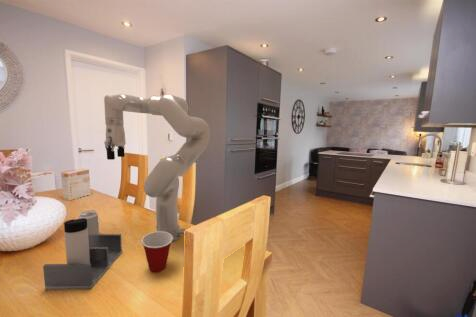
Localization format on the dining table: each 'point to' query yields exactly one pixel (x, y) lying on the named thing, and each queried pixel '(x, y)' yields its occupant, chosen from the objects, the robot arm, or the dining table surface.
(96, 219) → the can
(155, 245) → the plastic cup
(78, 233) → the travel mug
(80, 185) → the coffeecake box
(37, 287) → the dining table surface
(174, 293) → the dining table surface
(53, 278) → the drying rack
